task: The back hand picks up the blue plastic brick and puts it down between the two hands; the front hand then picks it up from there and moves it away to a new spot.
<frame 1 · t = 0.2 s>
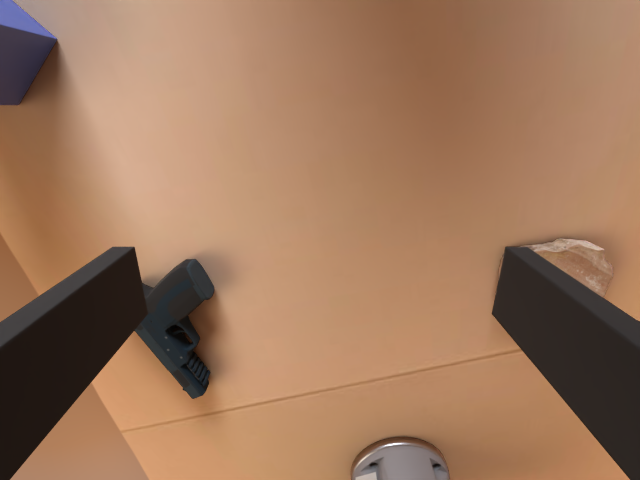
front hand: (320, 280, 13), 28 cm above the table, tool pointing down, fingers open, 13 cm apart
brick: (2, 44, 34), on the table
stone: (543, 284, 44), on the table
handgun: (193, 324, 46), on the table
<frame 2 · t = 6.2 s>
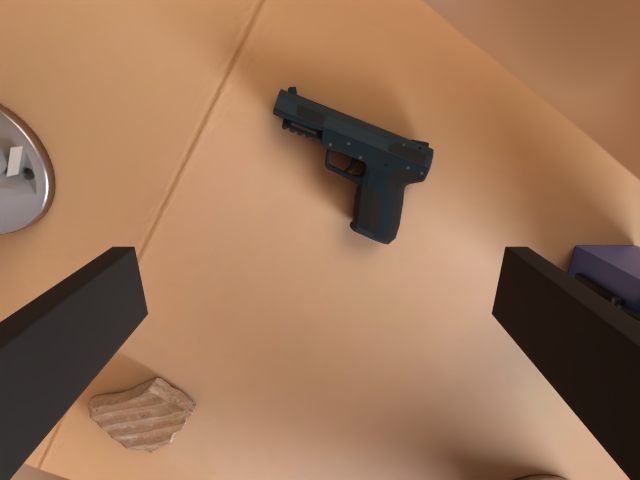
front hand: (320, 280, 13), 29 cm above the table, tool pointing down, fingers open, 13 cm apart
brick: (596, 275, 45), on the table, touching back hand
stone: (144, 403, 52), on the table
handgun: (340, 166, 40), on the table
when the back hand's fingers open (4 cm above the table, at t = 14.9 s): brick drops 2 cm, on the table.
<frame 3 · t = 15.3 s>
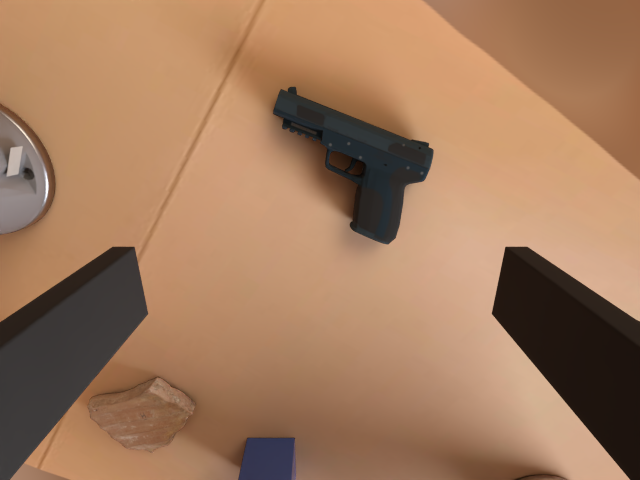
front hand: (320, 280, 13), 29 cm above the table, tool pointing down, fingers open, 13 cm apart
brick: (272, 456, 56), on the table
stone: (144, 403, 52), on the table
handgun: (340, 166, 40), on the table
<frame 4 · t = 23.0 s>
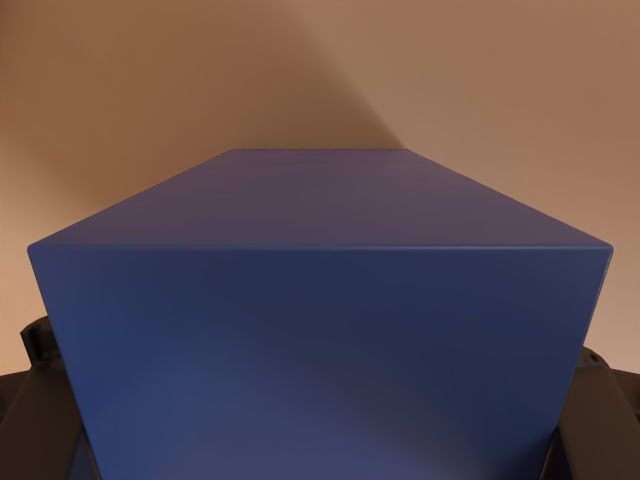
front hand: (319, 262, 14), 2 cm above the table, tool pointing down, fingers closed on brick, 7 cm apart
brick: (319, 241, 16), on the table, touching front hand
when the front hand's fingers open (4 cm above the table, at t = 29.5 s): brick drops 2 cm, on the table.
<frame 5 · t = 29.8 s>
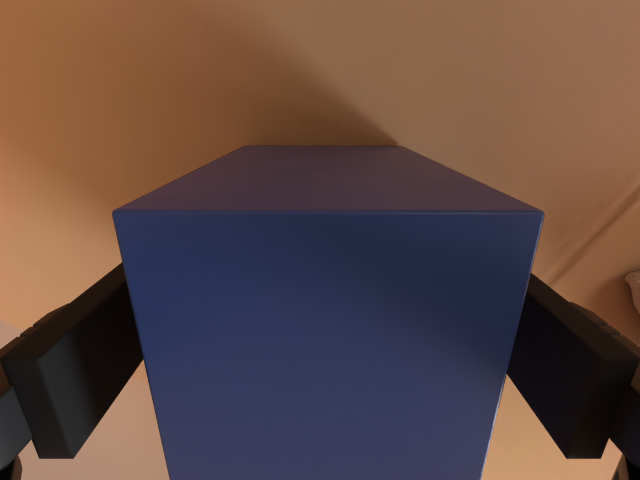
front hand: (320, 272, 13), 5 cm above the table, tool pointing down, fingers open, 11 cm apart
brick: (322, 230, 18), on the table
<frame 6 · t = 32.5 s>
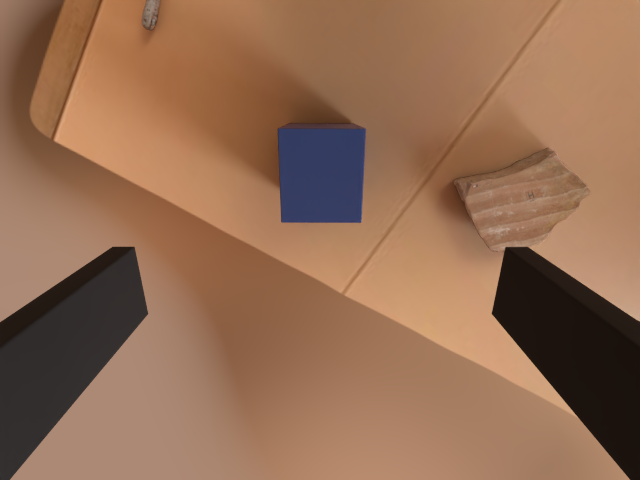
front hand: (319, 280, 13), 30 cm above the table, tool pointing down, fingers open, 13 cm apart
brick: (321, 160, 41), on the table
stone: (509, 193, 43), on the table
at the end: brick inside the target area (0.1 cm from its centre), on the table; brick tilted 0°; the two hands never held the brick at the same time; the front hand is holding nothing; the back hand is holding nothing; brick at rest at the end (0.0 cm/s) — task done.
